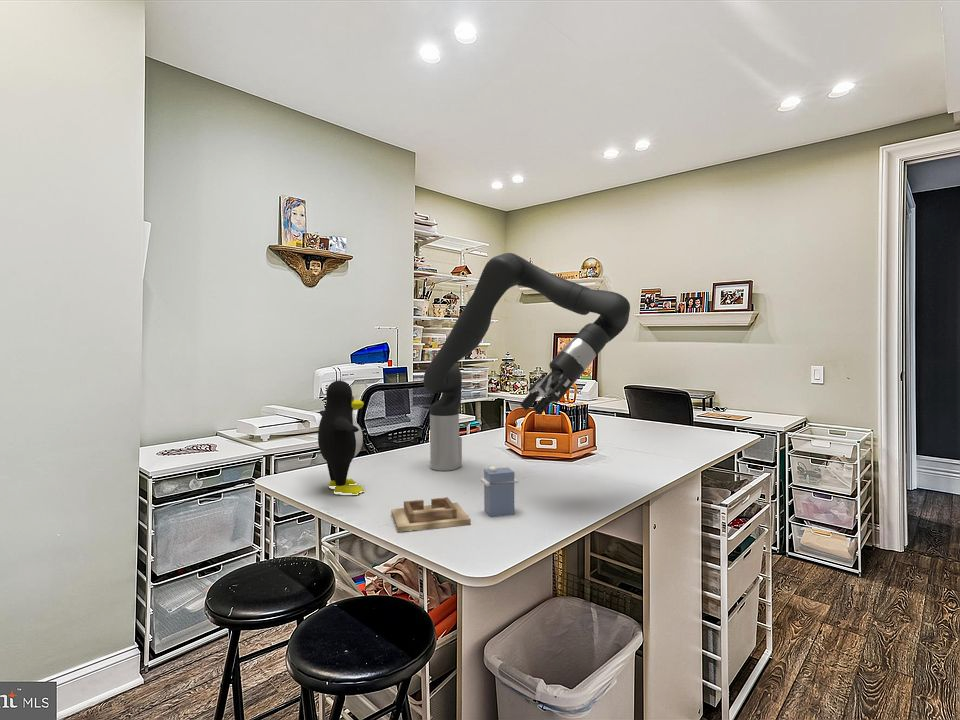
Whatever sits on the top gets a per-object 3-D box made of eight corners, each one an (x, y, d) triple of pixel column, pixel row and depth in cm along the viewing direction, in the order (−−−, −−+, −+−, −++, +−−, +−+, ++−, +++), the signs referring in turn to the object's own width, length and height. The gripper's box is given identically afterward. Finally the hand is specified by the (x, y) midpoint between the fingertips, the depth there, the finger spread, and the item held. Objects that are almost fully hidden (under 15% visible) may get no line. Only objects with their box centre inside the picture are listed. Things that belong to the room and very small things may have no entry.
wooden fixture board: (457, 507, 124) (457, 494, 124) (470, 524, 113) (470, 510, 113) (391, 514, 120) (391, 500, 120) (397, 532, 108) (397, 517, 108)
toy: (387, 504, 127) (385, 384, 126) (336, 513, 121) (334, 387, 119) (347, 471, 159) (345, 375, 157) (306, 477, 153) (303, 377, 151)
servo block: (511, 507, 124) (511, 463, 123) (518, 513, 120) (517, 467, 119) (480, 511, 122) (480, 465, 121) (486, 517, 117) (485, 470, 117)
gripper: (550, 349, 130) (508, 396, 128) (576, 350, 117) (529, 402, 114) (569, 370, 132) (528, 416, 129) (597, 372, 118) (552, 424, 115)
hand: (529, 409), depth 122 cm, fingers open, 8 cm apart
